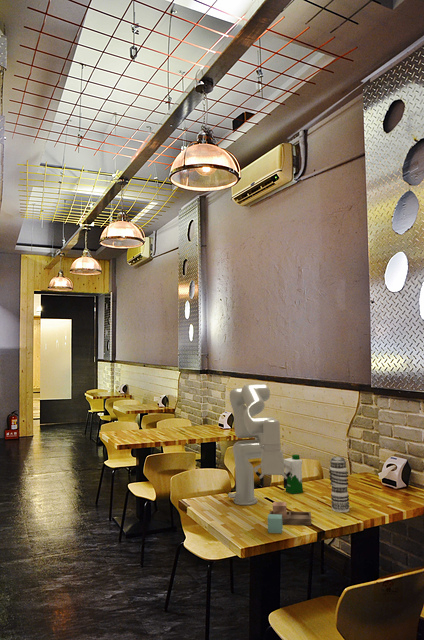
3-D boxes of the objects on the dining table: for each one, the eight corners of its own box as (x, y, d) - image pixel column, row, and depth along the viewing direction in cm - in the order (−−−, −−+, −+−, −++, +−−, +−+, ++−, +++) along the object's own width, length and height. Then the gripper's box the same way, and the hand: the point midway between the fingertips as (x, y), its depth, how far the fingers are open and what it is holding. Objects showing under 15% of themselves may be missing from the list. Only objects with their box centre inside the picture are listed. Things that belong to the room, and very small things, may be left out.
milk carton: (305, 492, 261) (303, 456, 263) (292, 495, 257) (290, 457, 259) (296, 489, 269) (294, 453, 271) (283, 491, 265) (281, 455, 267)
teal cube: (268, 532, 202) (267, 518, 203) (269, 528, 208) (268, 514, 209) (282, 533, 201) (281, 519, 202) (282, 528, 207) (282, 514, 208)
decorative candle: (327, 509, 230) (324, 457, 233) (337, 505, 237) (334, 454, 239) (344, 513, 224) (341, 460, 226) (353, 509, 230) (350, 457, 233)
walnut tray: (268, 523, 213) (268, 506, 214) (270, 516, 223) (269, 500, 224) (311, 525, 210) (310, 508, 210) (310, 517, 219) (310, 501, 220)
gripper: (251, 449, 206) (253, 489, 204) (291, 449, 203) (293, 490, 201) (253, 446, 213) (255, 484, 212) (292, 446, 210) (293, 485, 208)
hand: (273, 487), depth 206 cm, fingers open, 9 cm apart
